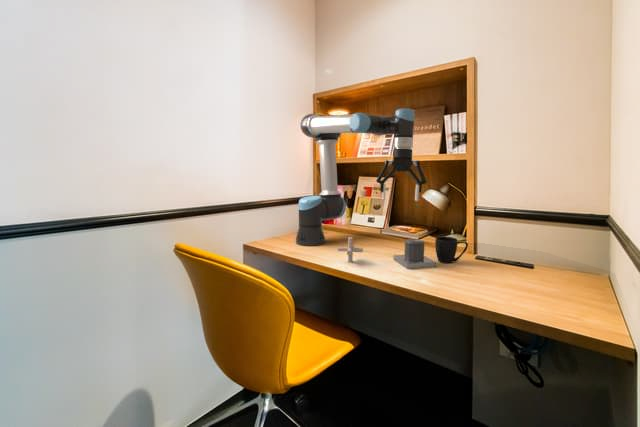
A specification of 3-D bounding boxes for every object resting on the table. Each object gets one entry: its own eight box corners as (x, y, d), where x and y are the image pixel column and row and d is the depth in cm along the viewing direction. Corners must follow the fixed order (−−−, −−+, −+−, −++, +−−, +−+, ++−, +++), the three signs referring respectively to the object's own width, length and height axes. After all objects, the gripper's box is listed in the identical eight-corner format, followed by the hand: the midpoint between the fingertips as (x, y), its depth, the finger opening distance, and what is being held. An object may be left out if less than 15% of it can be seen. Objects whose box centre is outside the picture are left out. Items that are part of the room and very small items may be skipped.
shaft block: (393, 259, 131) (393, 242, 130) (419, 258, 134) (420, 240, 133) (407, 269, 120) (407, 249, 119) (435, 266, 122) (436, 247, 121)
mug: (465, 267, 121) (467, 243, 120) (432, 262, 127) (434, 239, 126) (467, 261, 128) (468, 238, 127) (436, 257, 134) (437, 235, 133)
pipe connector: (361, 266, 124) (362, 241, 122) (336, 264, 126) (336, 240, 124) (363, 258, 133) (363, 235, 132) (339, 257, 135) (340, 234, 134)
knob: (406, 260, 123) (407, 242, 122) (403, 255, 130) (403, 238, 129) (425, 260, 123) (426, 242, 122) (420, 255, 130) (421, 238, 129)
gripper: (373, 147, 126) (371, 200, 130) (436, 148, 125) (432, 201, 128) (371, 148, 134) (369, 198, 137) (431, 149, 132) (427, 199, 136)
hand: (400, 200), depth 133 cm, fingers open, 13 cm apart
